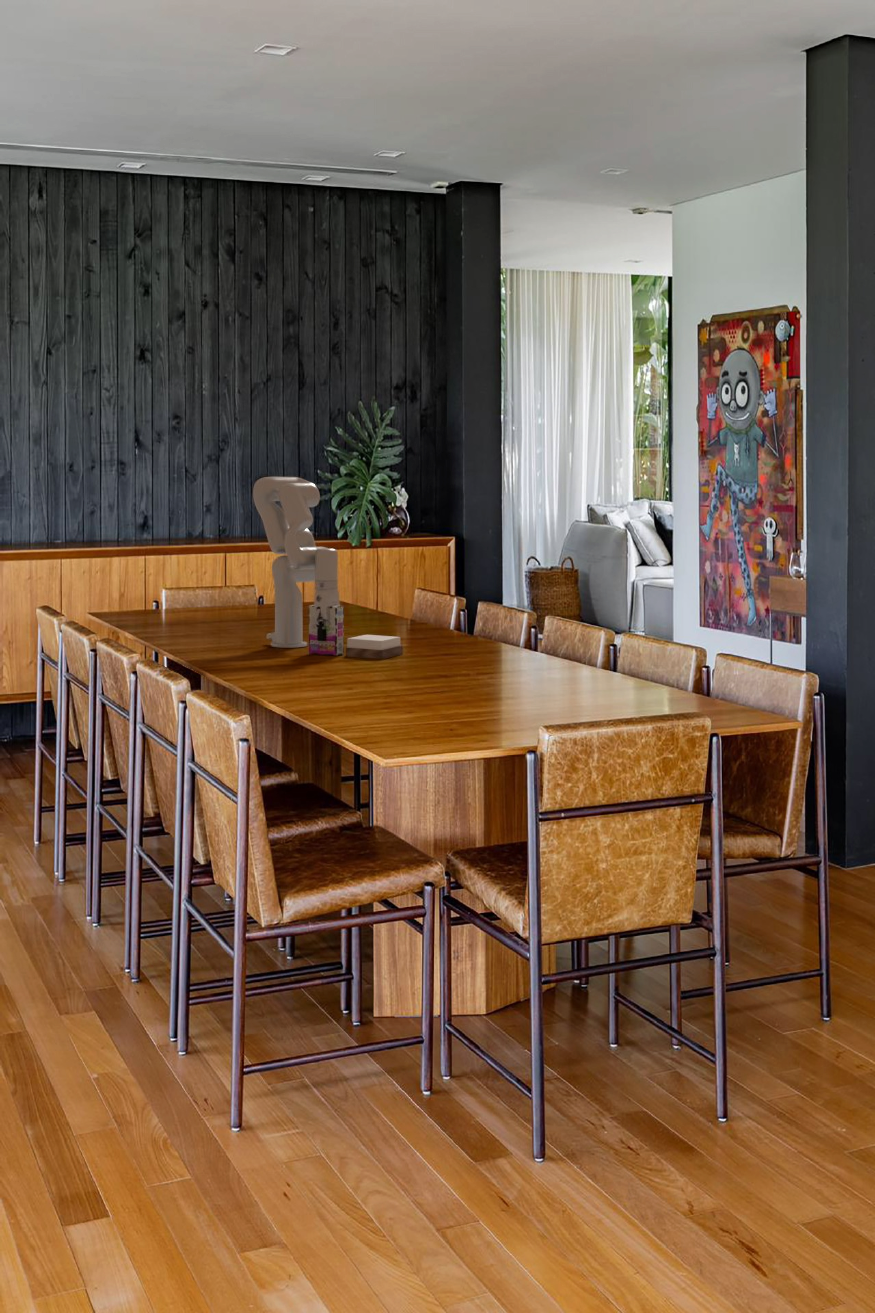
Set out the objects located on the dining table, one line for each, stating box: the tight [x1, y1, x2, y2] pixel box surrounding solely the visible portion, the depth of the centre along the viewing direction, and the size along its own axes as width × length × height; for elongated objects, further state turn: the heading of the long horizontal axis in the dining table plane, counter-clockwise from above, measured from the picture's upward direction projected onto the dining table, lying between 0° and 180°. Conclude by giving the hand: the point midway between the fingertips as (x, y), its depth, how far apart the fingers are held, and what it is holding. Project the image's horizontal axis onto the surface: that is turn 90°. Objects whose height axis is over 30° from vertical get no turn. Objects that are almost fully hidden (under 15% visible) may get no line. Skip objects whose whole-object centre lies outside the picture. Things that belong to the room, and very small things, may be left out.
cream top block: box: [346, 634, 401, 650], centre depth 472 cm, size 13×13×3 cm
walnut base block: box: [345, 645, 404, 660], centre depth 472 cm, size 14×14×4 cm
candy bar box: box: [308, 604, 345, 657], centre depth 472 cm, size 11×5×16 cm, turn 62°
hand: (326, 639), depth 473 cm, fingers closed on candy bar box, 5 cm apart
